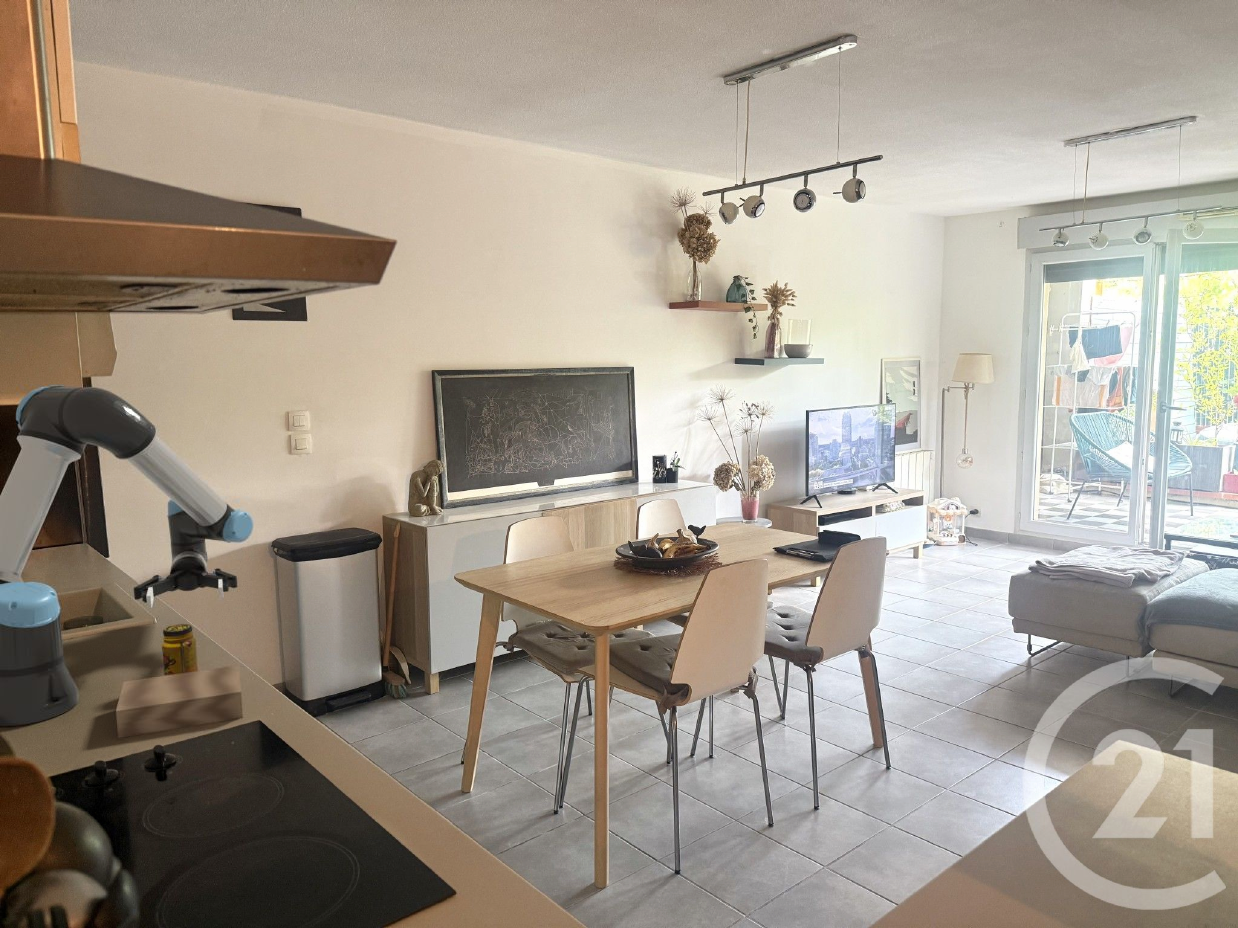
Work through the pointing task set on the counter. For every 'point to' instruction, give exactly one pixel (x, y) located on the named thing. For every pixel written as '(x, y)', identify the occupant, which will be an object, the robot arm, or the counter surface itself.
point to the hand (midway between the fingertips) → (185, 597)
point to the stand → (179, 701)
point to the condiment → (179, 650)
